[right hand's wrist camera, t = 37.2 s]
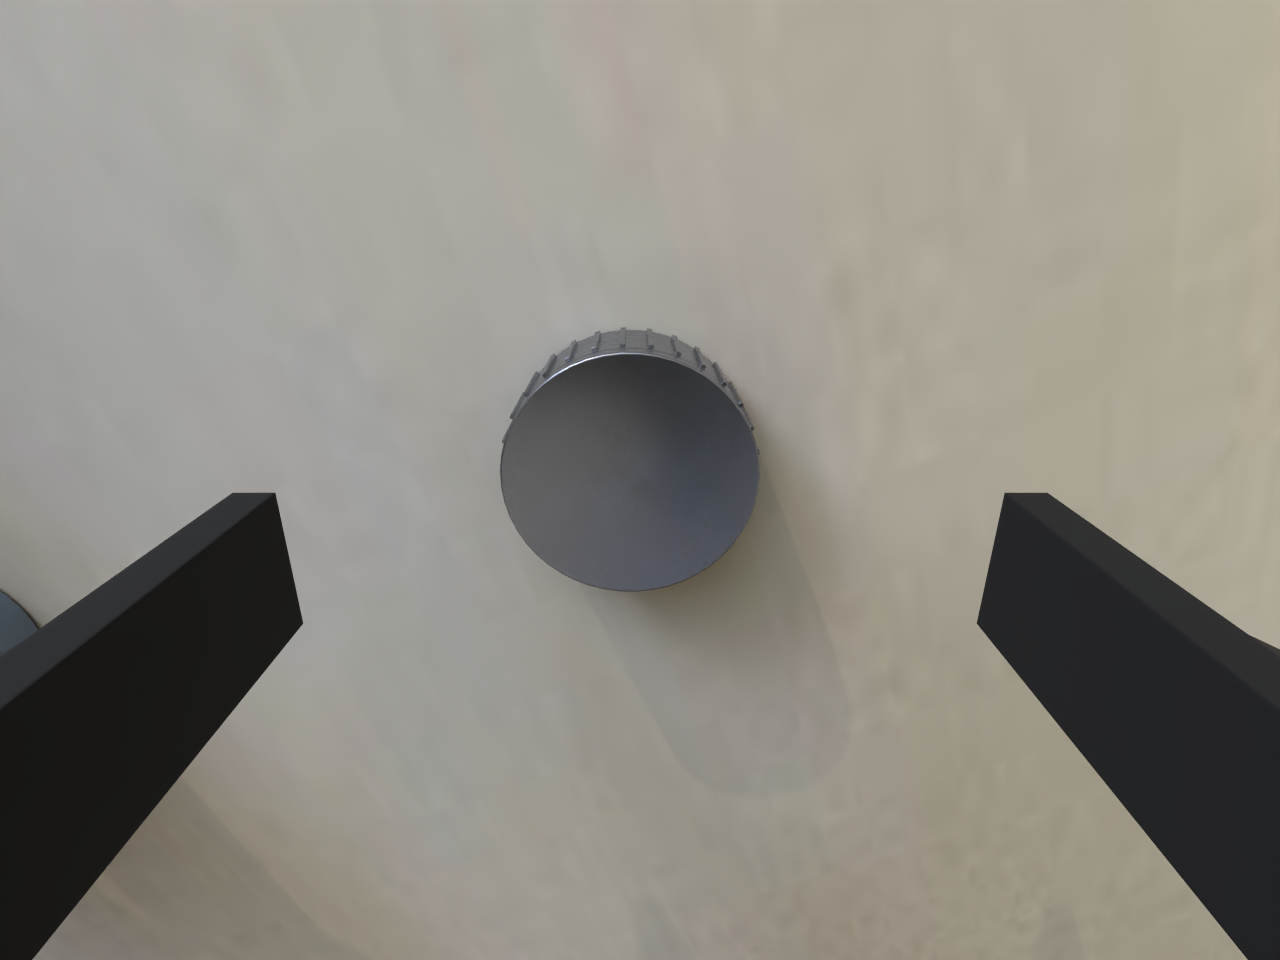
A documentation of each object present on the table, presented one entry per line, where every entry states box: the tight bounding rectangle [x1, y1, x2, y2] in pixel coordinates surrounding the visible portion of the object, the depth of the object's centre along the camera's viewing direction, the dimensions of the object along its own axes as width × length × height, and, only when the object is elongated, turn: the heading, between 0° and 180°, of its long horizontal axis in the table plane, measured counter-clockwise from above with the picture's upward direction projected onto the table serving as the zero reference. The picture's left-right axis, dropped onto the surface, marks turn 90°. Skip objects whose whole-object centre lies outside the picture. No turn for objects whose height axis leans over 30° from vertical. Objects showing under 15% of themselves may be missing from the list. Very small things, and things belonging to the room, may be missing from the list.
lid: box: [500, 327, 760, 591], centre depth 15 cm, size 6×6×2 cm
